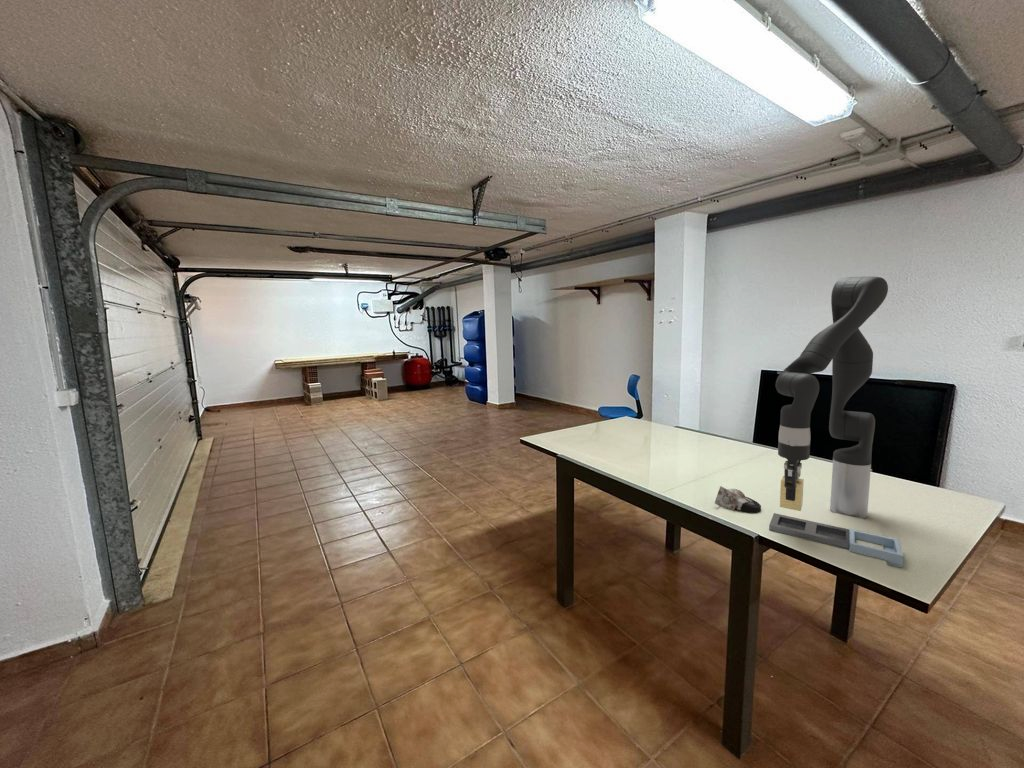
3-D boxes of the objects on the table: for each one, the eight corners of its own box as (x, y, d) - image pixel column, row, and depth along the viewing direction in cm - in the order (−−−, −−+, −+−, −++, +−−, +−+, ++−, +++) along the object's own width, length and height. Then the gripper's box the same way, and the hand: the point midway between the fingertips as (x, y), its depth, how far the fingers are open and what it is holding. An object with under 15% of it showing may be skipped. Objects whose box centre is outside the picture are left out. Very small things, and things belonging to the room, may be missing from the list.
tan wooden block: (782, 501, 120) (783, 475, 119) (802, 505, 117) (803, 479, 116) (779, 506, 116) (780, 481, 115) (800, 511, 113) (801, 484, 112)
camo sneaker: (761, 518, 130) (745, 522, 125) (729, 500, 140) (713, 503, 134) (768, 500, 129) (752, 503, 124) (735, 483, 138) (719, 485, 133)
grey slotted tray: (773, 520, 123) (773, 513, 123) (848, 537, 112) (849, 529, 112) (768, 533, 116) (769, 525, 116) (849, 552, 104) (849, 543, 104)
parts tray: (848, 539, 111) (849, 528, 111) (898, 550, 105) (898, 539, 104) (849, 554, 104) (849, 543, 103) (902, 567, 97) (903, 555, 97)
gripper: (782, 433, 122) (779, 486, 124) (774, 445, 111) (772, 502, 113) (812, 437, 117) (809, 491, 119) (807, 449, 106) (804, 509, 108)
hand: (791, 496), depth 116 cm, fingers closed on tan wooden block, 5 cm apart
